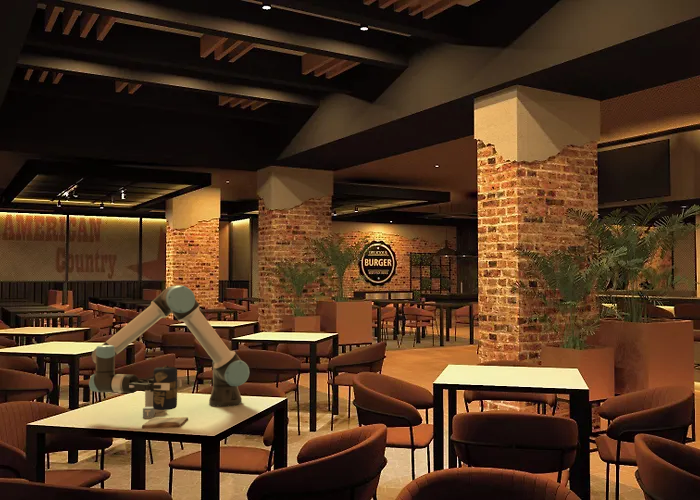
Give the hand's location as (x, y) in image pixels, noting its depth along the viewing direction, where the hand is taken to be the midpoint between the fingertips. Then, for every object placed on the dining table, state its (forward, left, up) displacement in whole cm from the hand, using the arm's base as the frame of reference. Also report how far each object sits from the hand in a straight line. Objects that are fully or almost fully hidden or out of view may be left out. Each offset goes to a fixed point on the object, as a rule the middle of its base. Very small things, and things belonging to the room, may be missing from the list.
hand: (175, 384), depth 272 cm
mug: (+15, -31, -16) cm, 38 cm away
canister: (+4, -1, -10) cm, 11 cm away
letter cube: (+15, -17, -16) cm, 28 cm away
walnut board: (+4, -1, -16) cm, 16 cm away
